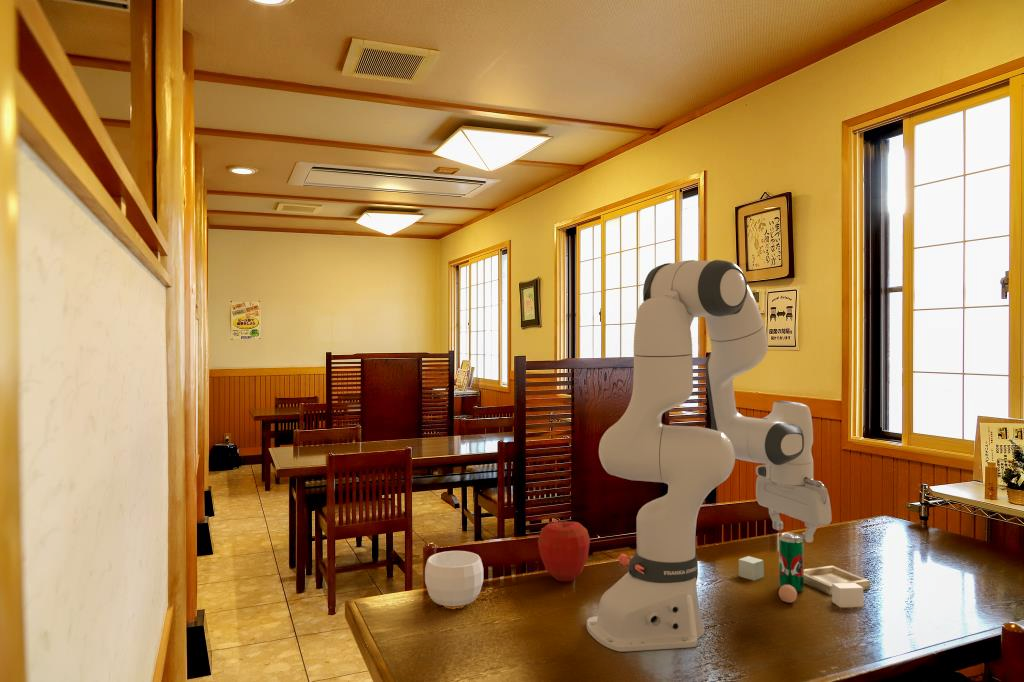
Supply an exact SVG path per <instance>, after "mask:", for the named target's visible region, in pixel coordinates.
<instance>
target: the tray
mask: <svg viewBox="0 0 1024 682" xmlns="http://www.w3.org/2000/svg"><path fill="white" fill-rule="evenodd" d="M832 583H856V584H858V585H860V586H861V587H863V591H864V590H870V589H871V581H870V580H869V579H866V578H864V577H862V576H860V575H858V574H854V573H851V572H849V571H847V570H845V569H842V568H840V567H837V566H834V565H827V566H819V567H812V568H804V584H806V585H808V586H810V587H812V588H815V589H816V590H819V591H821V592H823V593H825V594H828V595H830V596H832Z"/></svg>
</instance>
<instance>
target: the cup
mask: <svg viewBox="0 0 1024 682" xmlns="http://www.w3.org/2000/svg"><path fill="white" fill-rule="evenodd" d="M483 565H484V564H483V562H482V558H481V557H480V556H479V554H477V553H474V552H471V551H466V550H450V551H449V550H448V551H442V552H438V553H434V554H432V555H430V556H429V557H428V558H427V560H426V564H425V568H424V582H425V586H426V589H427V594H428V596H429V598H431V600H432V602H434V603H435V604H437V605H440V606H441V605H443V606H447V607H460V606H464V605H466V604H468V605H469V604H471V603H473V602H474V601H475V600H476V599H477V598H478V596H479V594H480V593H481V591H482V586H483V583H484V566H483Z"/></svg>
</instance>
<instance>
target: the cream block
mask: <svg viewBox="0 0 1024 682" xmlns="http://www.w3.org/2000/svg"><path fill="white" fill-rule="evenodd" d="M831 597H832V601H831V602H832V603H833V604H835V605H836V606H837V607H839V608H864V590H863V587H861V586H860V585H858V584H856V583H832V595H831Z"/></svg>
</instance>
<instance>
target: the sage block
mask: <svg viewBox="0 0 1024 682" xmlns="http://www.w3.org/2000/svg"><path fill="white" fill-rule="evenodd" d="M764 563H765V562H764V560H763V559H762V558H761V559H760V558H757V557H753V556H750V555H747V556H744V557H741V558H739V559H738V577H741V578H744V579H747V580H751V581H757V580H759V579H761V578H764V575H765V574H764V573H765V572H764V570H765V569H764V568H765V566H764V565H765V564H764Z"/></svg>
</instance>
